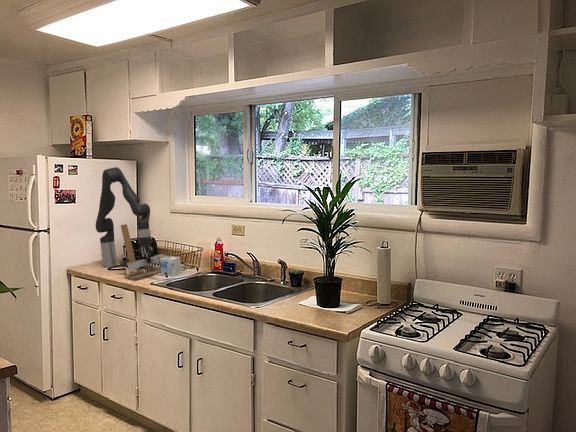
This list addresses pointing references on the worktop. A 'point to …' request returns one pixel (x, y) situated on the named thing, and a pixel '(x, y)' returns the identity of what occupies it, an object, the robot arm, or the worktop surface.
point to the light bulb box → (170, 266)
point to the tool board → (140, 276)
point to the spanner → (144, 262)
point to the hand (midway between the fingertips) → (147, 262)
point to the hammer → (127, 246)
